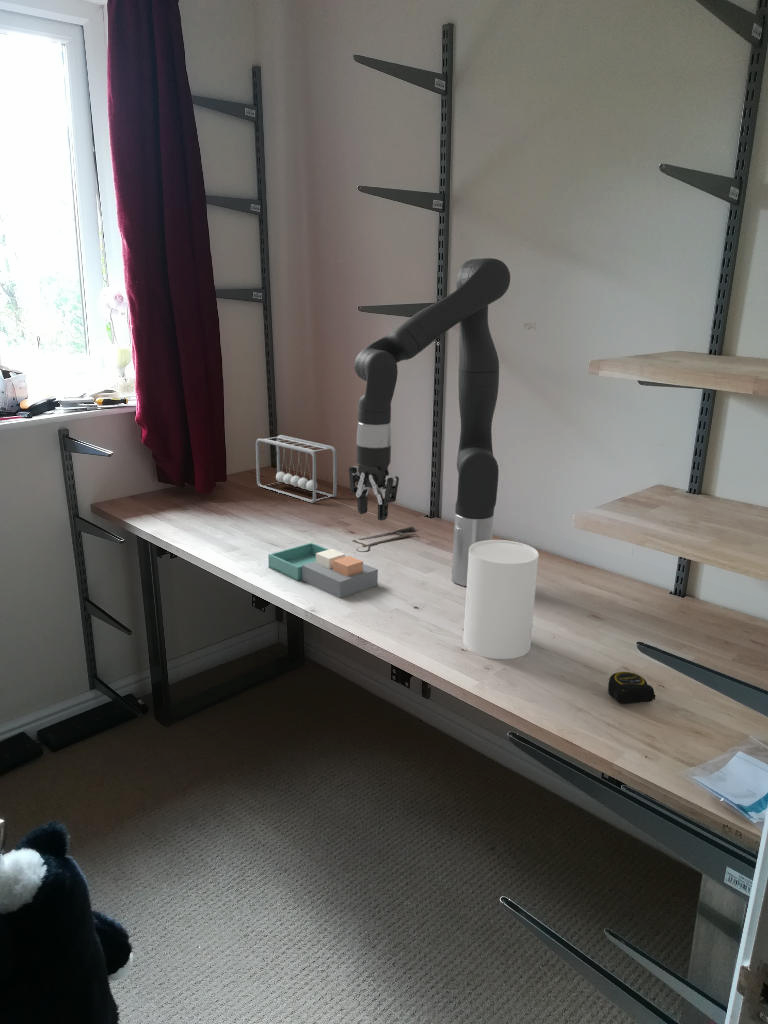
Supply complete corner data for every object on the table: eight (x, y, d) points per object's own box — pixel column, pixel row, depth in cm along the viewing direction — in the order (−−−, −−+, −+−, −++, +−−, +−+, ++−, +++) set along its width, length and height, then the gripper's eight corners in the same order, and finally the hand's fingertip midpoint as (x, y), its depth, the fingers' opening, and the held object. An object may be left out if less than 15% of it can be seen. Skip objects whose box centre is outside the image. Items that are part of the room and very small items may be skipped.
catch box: (341, 567, 190) (341, 554, 189) (297, 581, 180) (297, 567, 179) (311, 554, 198) (311, 542, 197) (268, 567, 188) (268, 554, 187)
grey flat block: (377, 584, 179) (377, 569, 178) (339, 598, 171) (340, 582, 170) (339, 568, 189) (339, 553, 188) (302, 580, 181) (302, 565, 180)
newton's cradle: (337, 498, 250) (337, 447, 245) (314, 504, 243) (314, 451, 238) (279, 482, 269) (278, 433, 264) (256, 487, 262) (254, 437, 257)
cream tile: (344, 563, 181) (344, 554, 180) (329, 568, 178) (329, 558, 177) (331, 558, 185) (331, 548, 184) (315, 562, 181) (315, 553, 181)
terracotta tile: (362, 571, 177) (363, 561, 176) (347, 576, 173) (347, 566, 173) (348, 565, 180) (349, 555, 179) (333, 570, 177) (333, 560, 176)
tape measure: (617, 710, 129) (619, 690, 128) (600, 689, 135) (602, 671, 134) (654, 707, 130) (657, 688, 129) (636, 687, 136) (638, 669, 135)
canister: (475, 623, 160) (481, 535, 154) (537, 637, 155) (545, 546, 149) (453, 649, 148) (459, 555, 142) (519, 665, 143) (528, 568, 137)
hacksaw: (412, 530, 221) (413, 525, 221) (432, 540, 213) (433, 535, 212) (341, 542, 209) (341, 537, 208) (360, 554, 200) (360, 549, 200)
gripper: (409, 446, 160) (406, 520, 165) (364, 435, 169) (362, 506, 174) (384, 450, 155) (382, 527, 159) (339, 439, 164) (338, 512, 169)
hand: (372, 516), depth 167 cm, fingers open, 5 cm apart
